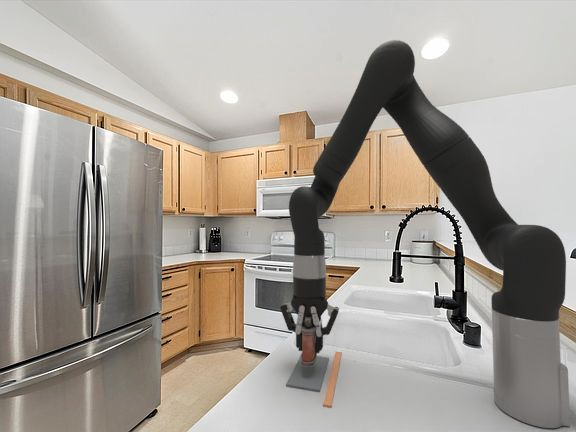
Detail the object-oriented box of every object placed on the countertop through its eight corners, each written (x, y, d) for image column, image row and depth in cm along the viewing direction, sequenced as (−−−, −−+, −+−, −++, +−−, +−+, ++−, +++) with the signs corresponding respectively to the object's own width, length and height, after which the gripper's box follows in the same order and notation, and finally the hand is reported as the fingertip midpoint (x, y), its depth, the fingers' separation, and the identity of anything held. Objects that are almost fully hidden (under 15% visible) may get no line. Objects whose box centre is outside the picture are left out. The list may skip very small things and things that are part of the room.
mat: (328, 359, 67) (328, 357, 67) (319, 392, 54) (319, 390, 54) (301, 355, 69) (301, 353, 69) (286, 386, 56) (286, 384, 56)
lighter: (314, 367, 57) (314, 319, 58) (298, 365, 58) (299, 318, 58) (318, 350, 65) (318, 308, 65) (304, 349, 66) (304, 307, 66)
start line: (341, 353, 70) (341, 352, 70) (331, 407, 49) (331, 405, 49) (335, 352, 71) (335, 351, 71) (323, 406, 50) (323, 404, 50)
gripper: (341, 273, 64) (342, 347, 63) (284, 270, 68) (284, 340, 67) (338, 279, 57) (339, 363, 56) (275, 275, 61) (274, 354, 60)
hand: (309, 350), depth 62 cm, fingers closed on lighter, 3 cm apart
